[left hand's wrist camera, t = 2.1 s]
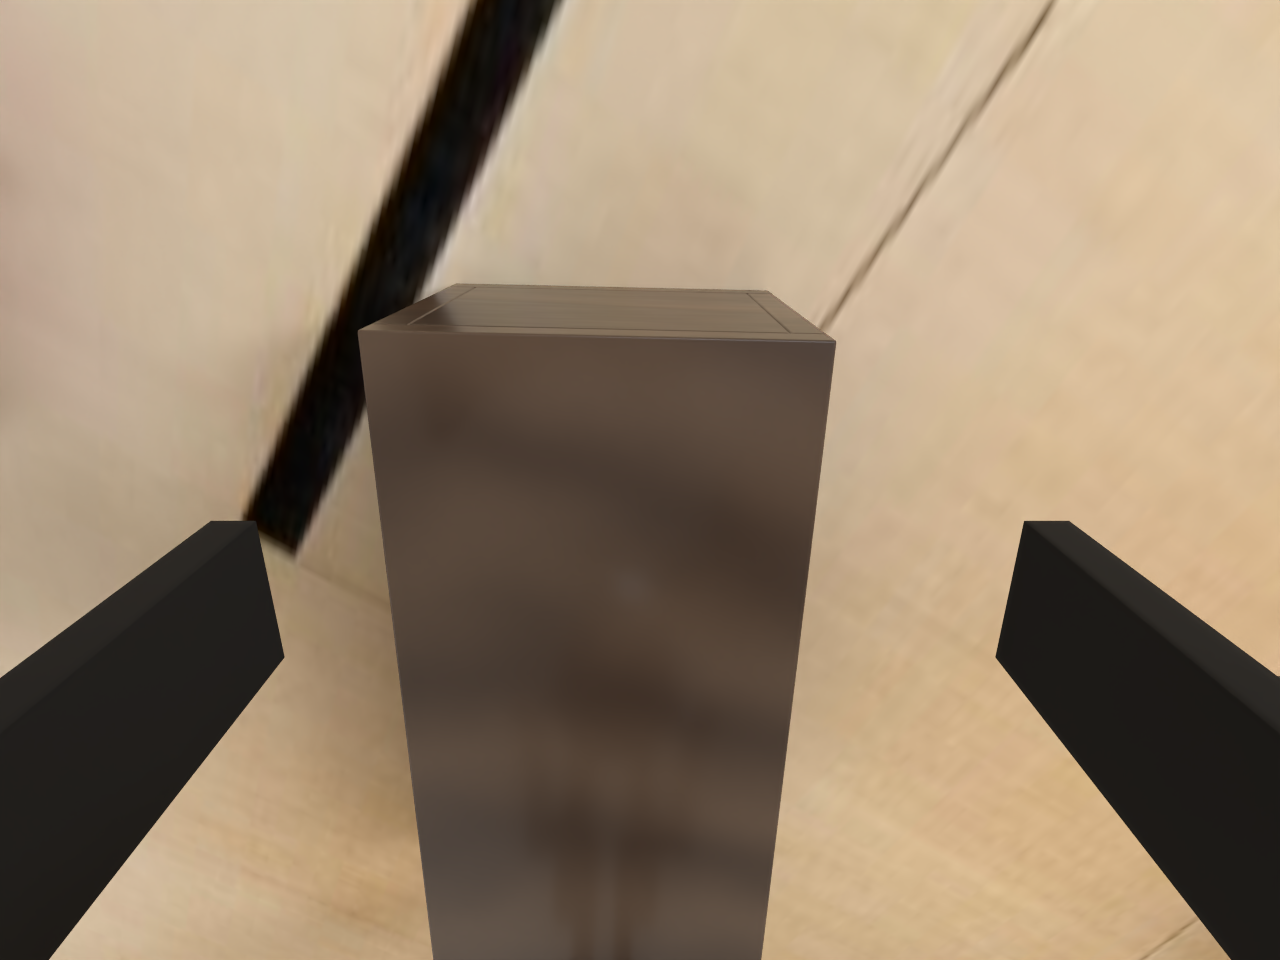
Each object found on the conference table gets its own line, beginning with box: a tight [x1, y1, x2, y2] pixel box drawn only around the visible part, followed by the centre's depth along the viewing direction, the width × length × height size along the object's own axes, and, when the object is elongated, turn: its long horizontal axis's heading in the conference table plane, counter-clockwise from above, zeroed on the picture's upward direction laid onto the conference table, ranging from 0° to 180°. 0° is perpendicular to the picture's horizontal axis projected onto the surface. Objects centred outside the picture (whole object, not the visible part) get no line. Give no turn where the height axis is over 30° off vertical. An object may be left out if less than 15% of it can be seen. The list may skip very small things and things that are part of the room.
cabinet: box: [358, 284, 836, 960], centre depth 25 cm, size 22×11×10 cm, turn 179°
